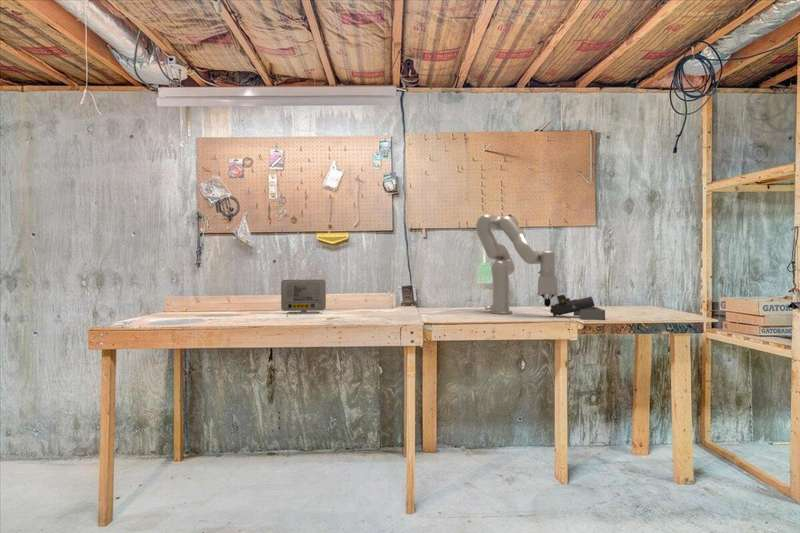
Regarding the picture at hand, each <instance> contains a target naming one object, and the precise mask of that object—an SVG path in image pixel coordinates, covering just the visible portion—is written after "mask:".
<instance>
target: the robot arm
mask: <svg viewBox="0 0 800 533" xmlns="http://www.w3.org/2000/svg"><path fill="white" fill-rule="evenodd" d="M476 221H477V222H476V224H475V229H476V234H477V236H478V238H479V241H480V242H481V245H482V248H483V249H484V251H485V254H486V256H487V257H488V258H489V259H491V260H495V261H494V262H493V263H492V265H491V276H492V305H490V306H489V305H484V309H485V310H489V313H490V314H495V315H496V314H498V315H510V314H513V311H512V310H510V278H509V277H510V275H512V274H513V273H514V271H515V268H516V267H515V262H514V261H513V258H512V256H511V254H510V253H509V250H508V248H507V247H506V246H505V245H504V244H501V243H498V241H497V239H496V237H495V235H494V233H493V231H491V230H495V231H496V230H498V231H503V232H504V234H505V235H506V236H507V238H508V239H509V240H510V242H512V244H513V247H514V250H515V251H516V253H517V254H518V255H519V257H520V258H521V259H522V260H523V261H524V262H525V264H528V265H539V264H540V268H539V269H540V270H539V271H537V274H539V276H538V280H537V293H536V294H537V296H538V297H542V298H543V303H544V306H545V307H548V308H549V307H550V306H551V300H552V299H553V298H554V297H557V296H559V294H558V290H559V289H558V287H559V286H558V278H557V277H558V276H557V275H556V274H555V273H556V270H555V269H556V252H555V251H553V250H543V251H539V250H533V249H532V247H531V246H530V245H529V243H528V242H527V241H526V234H525V232H524V231H523V230H522V228H521V227H520V226H519V220H518V219H517V218H516V217H514V216H510V215H505V216H501V215H494V214H490V213H489V214H488V213H486V214H485V213H484V214H482V215H481V216H479V218H478V219H477V220H476ZM547 295H548V296H547Z"/></svg>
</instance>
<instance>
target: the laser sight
mask: <svg viewBox="0 0 800 533" xmlns="http://www.w3.org/2000/svg"><path fill="white" fill-rule="evenodd" d="M556 299H557V301H558V303H555V304H554V305H553V304H552V305H550V309H549V311H550V314H552V316H554V317H555V316H562V315H566V314H570V313H574V312H576V311H580V310H581V309H585V308H589V307H595V302H594V299H593V296H587V297H583V298H579V299H576V298H575V299H570V297H566V295H564V294H561V295H557V296H556Z"/></svg>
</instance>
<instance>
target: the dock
mask: <svg viewBox="0 0 800 533" xmlns="http://www.w3.org/2000/svg"><path fill="white" fill-rule="evenodd" d="M573 316H579V319H580V320H590V321H591V320H593V321H594V320H595V321H596V320H599V321H605V320H606V310H605V309H603V308H601V307H598V306H594V307H589V308H585V309H581V310H580V311H576V312H573Z"/></svg>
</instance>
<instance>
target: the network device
mask: <svg viewBox="0 0 800 533" xmlns="http://www.w3.org/2000/svg"><path fill="white" fill-rule="evenodd" d="M326 284H327V281H326V280H325V279H282V280H281V282H280V295H281V296H280V304H281V305H280V307H281V308H280V309H281V311H283V312H286V315H319V314H321V311H325V310H326V307H327V306H326V305H327V302H326V301H327V298H326V296H327V294H326V293H327V292H326V291H327V288H326V287H327V285H326ZM287 311H288V312H287Z"/></svg>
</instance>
